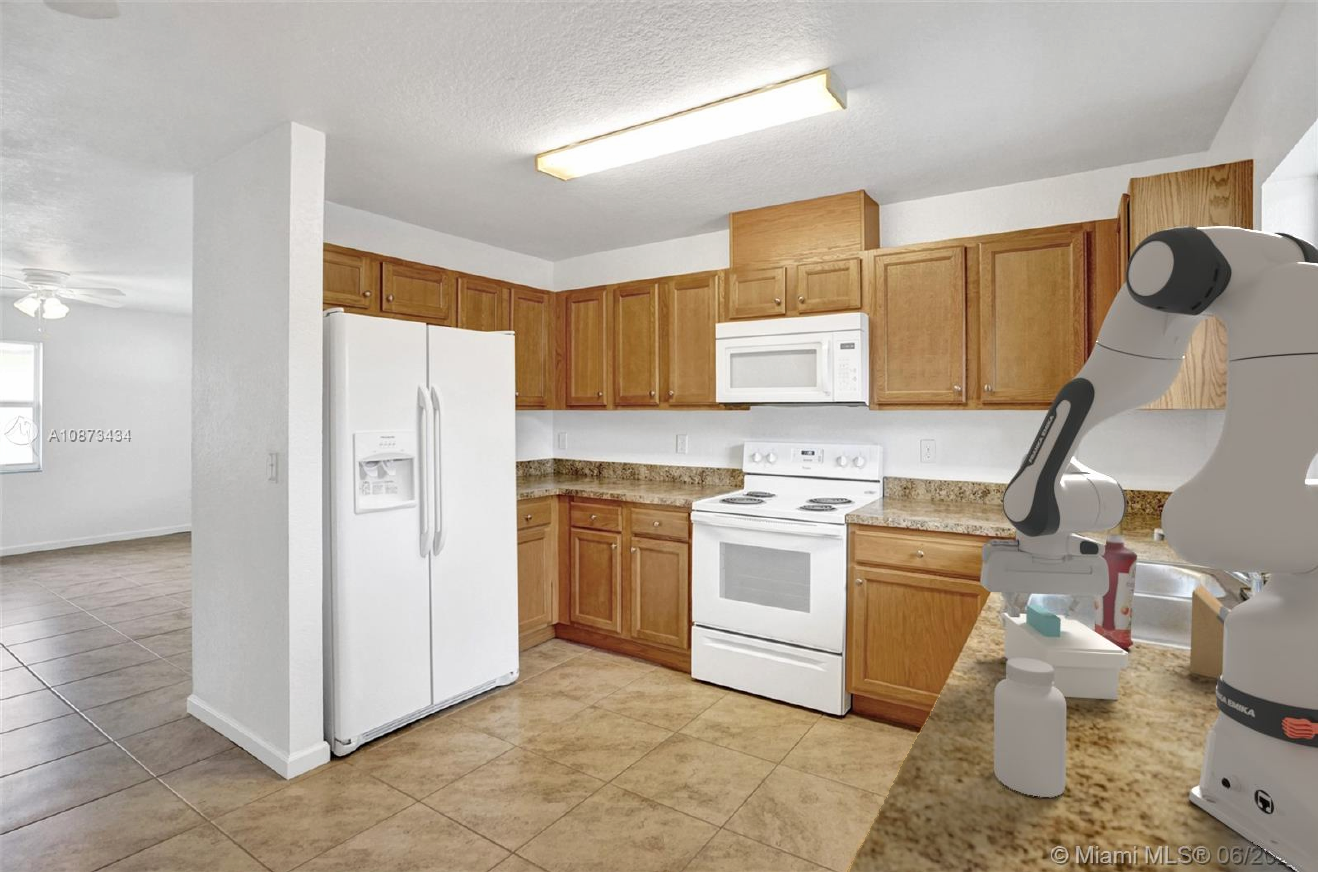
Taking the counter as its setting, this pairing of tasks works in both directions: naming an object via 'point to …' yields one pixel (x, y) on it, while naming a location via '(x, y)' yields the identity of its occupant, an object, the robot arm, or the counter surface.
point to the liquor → (1117, 591)
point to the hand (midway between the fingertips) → (1041, 617)
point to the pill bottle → (1030, 729)
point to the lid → (1067, 640)
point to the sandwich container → (1207, 633)
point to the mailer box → (1065, 670)
